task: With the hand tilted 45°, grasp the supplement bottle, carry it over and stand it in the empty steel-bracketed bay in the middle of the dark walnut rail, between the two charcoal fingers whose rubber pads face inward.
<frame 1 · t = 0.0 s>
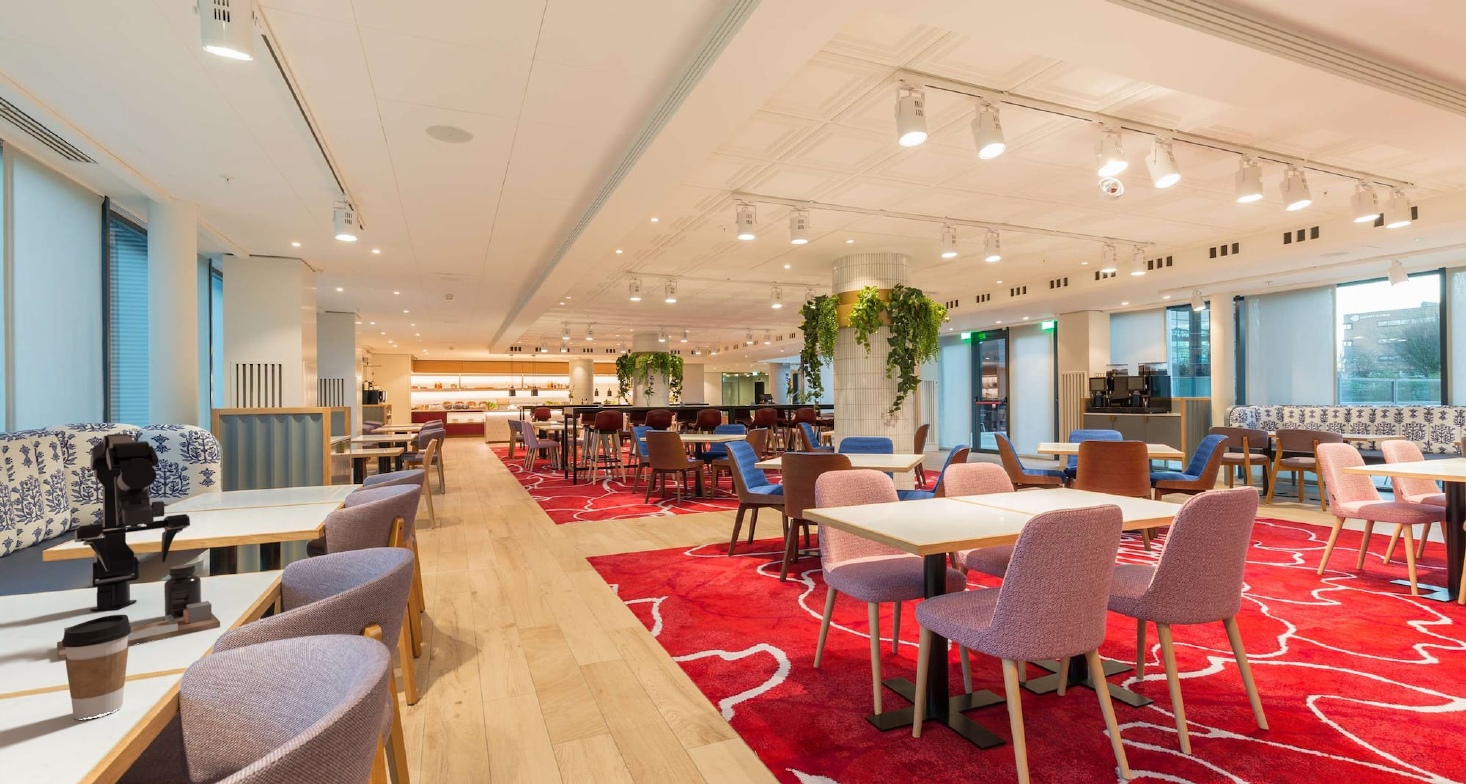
hand: (136, 566, 148), 15 cm above the table, tool pointing down, fingers open, 9 cm apart
coffee cup: (98, 713, 112), on the table
supplement bottle: (183, 617, 162), on the table
walnut rail: (141, 636, 148), on the table
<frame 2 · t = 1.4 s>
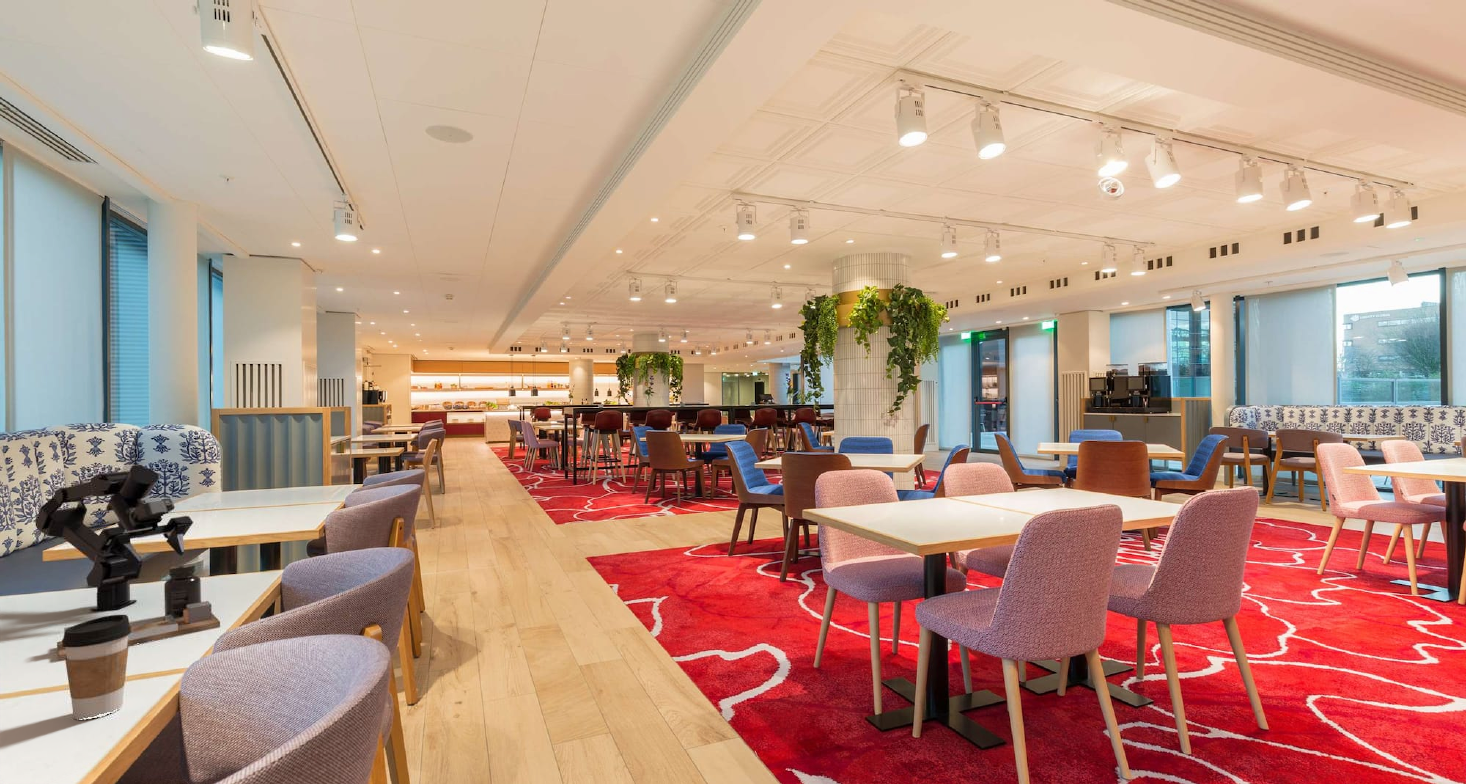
hand: (161, 558, 164), 13 cm above the table, tool tilted 45°, fingers open, 9 cm apart
nothing on the table moved.
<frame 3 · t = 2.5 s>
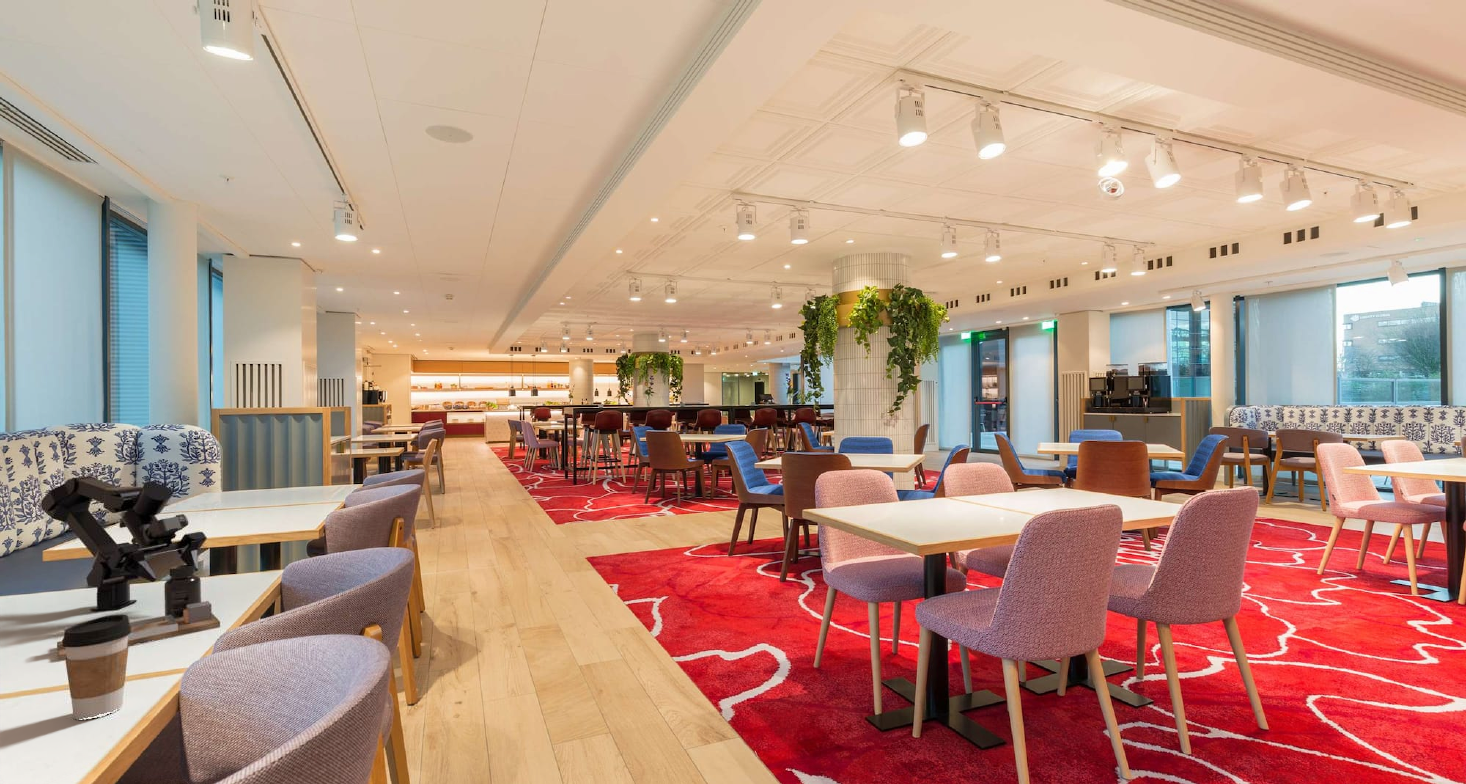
hand: (176, 575, 163), 10 cm above the table, tool tilted 45°, fingers open, 9 cm apart
nothing on the table moved.
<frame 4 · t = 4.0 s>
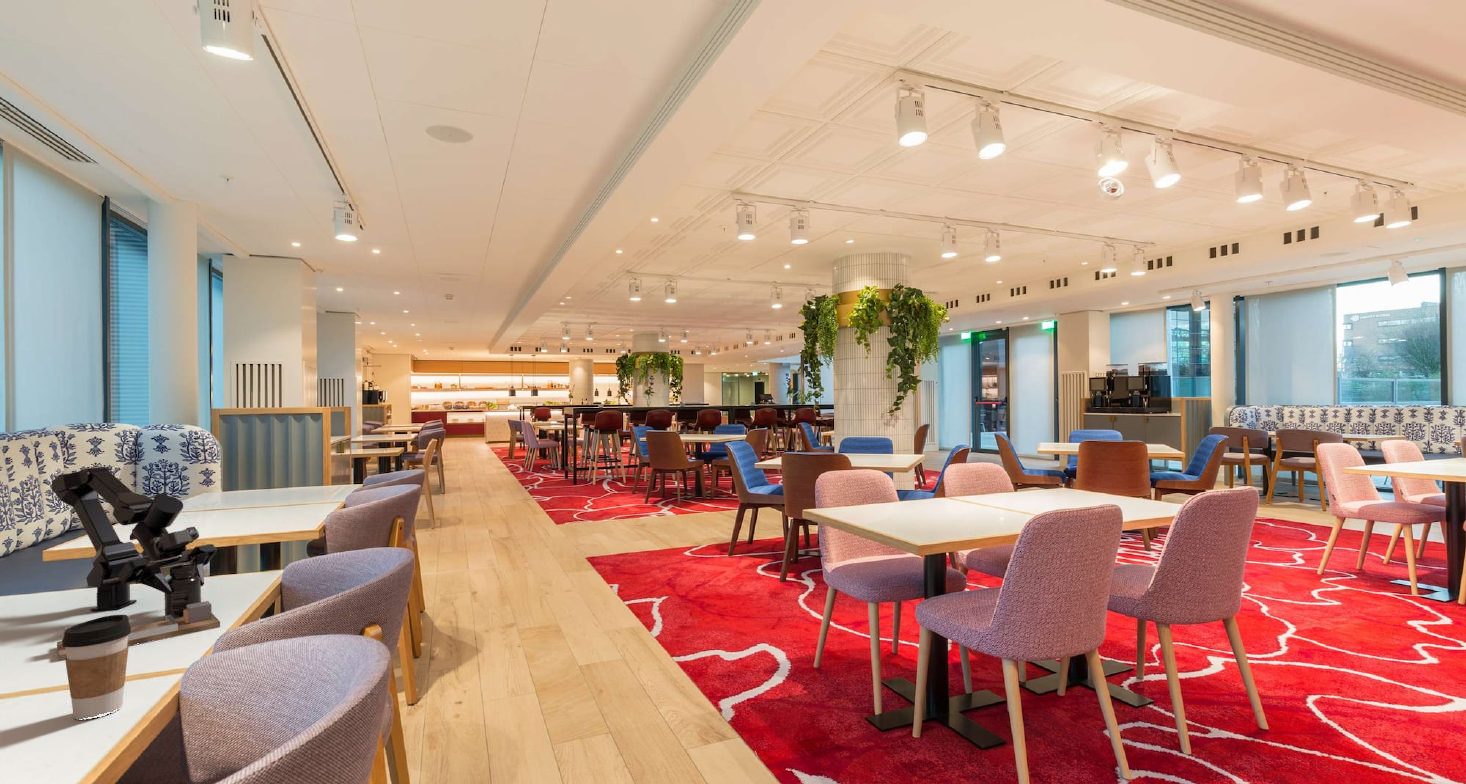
hand: (186, 589, 162), 7 cm above the table, tool tilted 45°, fingers closed on supplement bottle, 7 cm apart
supplement bottle: (183, 616, 162), on the table, touching gripper
everything else where it was.
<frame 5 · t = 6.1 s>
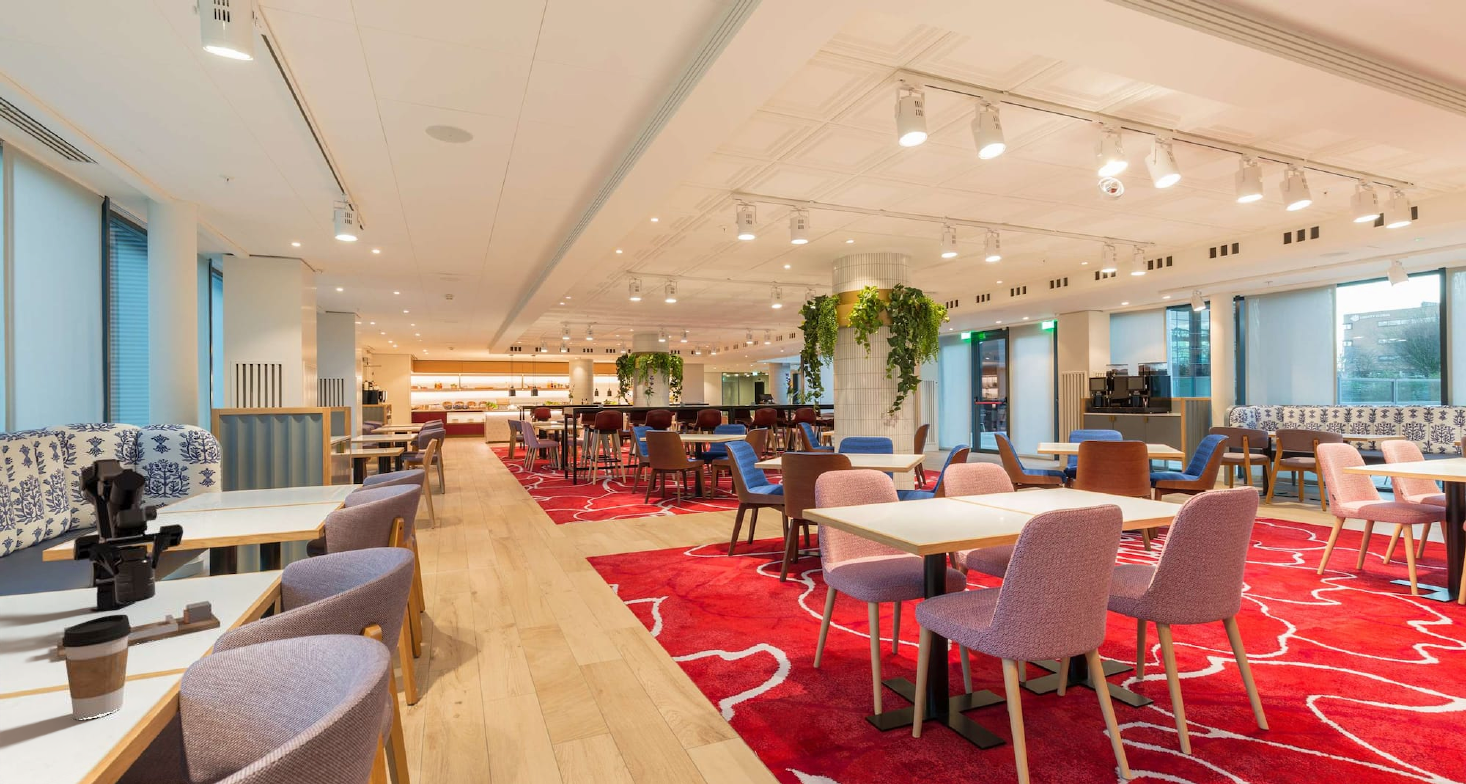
hand: (135, 571, 153), 13 cm above the table, tool tilted 45°, fingers closed on supplement bottle, 7 cm apart
supplement bottle: (136, 600, 154), point 6 cm above the table, touching gripper
everything else where it was.
when the fingers open (9 cm above the table, at t = 8.4 s): supplement bottle stays where it is, resting on walnut rail.
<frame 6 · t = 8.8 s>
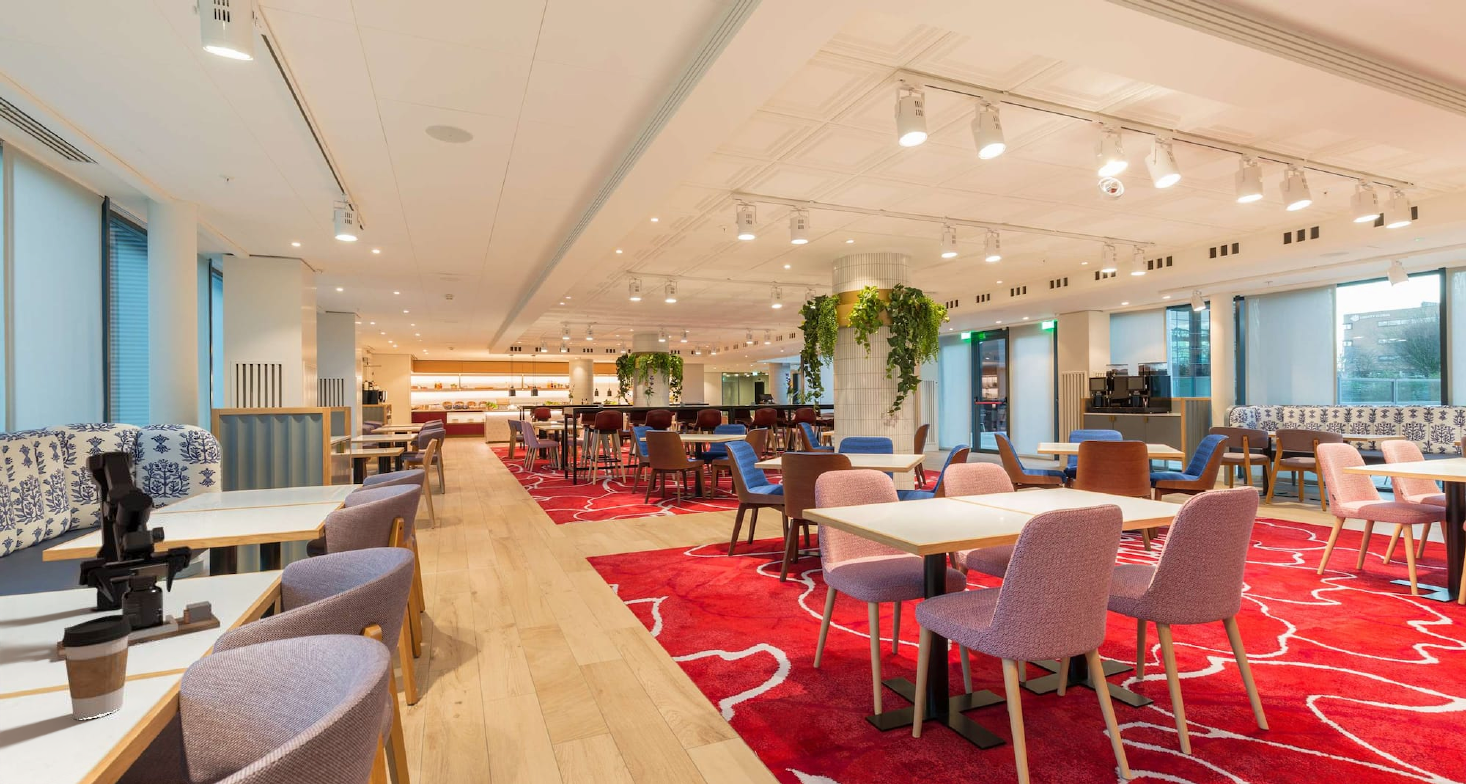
hand: (142, 596, 147), 9 cm above the table, tool tilted 45°, fingers open, 9 cm apart
supplement bottle: (143, 631, 148), point 1 cm above the table, touching walnut rail
everything else where it was.
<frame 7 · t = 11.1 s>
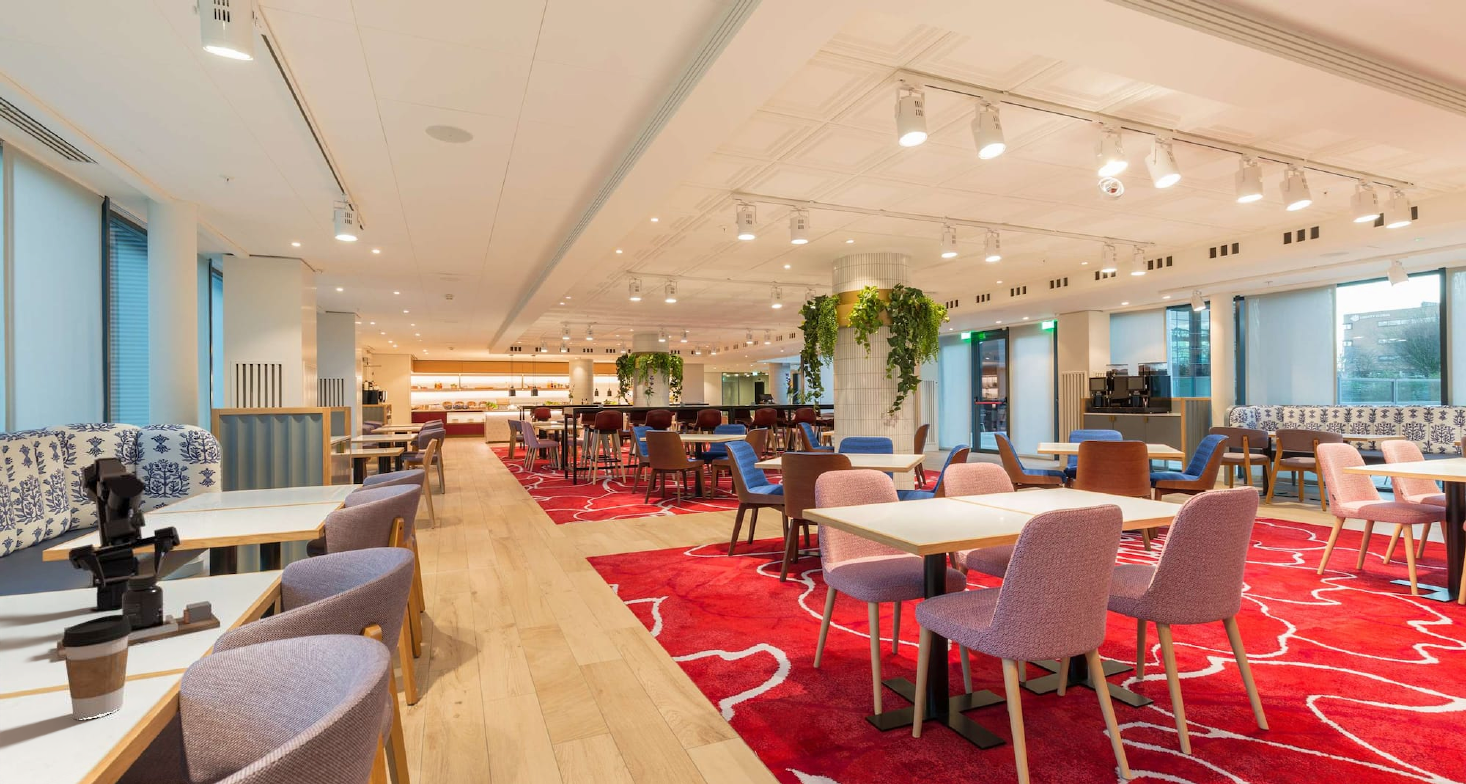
hand: (130, 579, 153), 11 cm above the table, tool tilted 40°, fingers open, 9 cm apart
nothing on the table moved.
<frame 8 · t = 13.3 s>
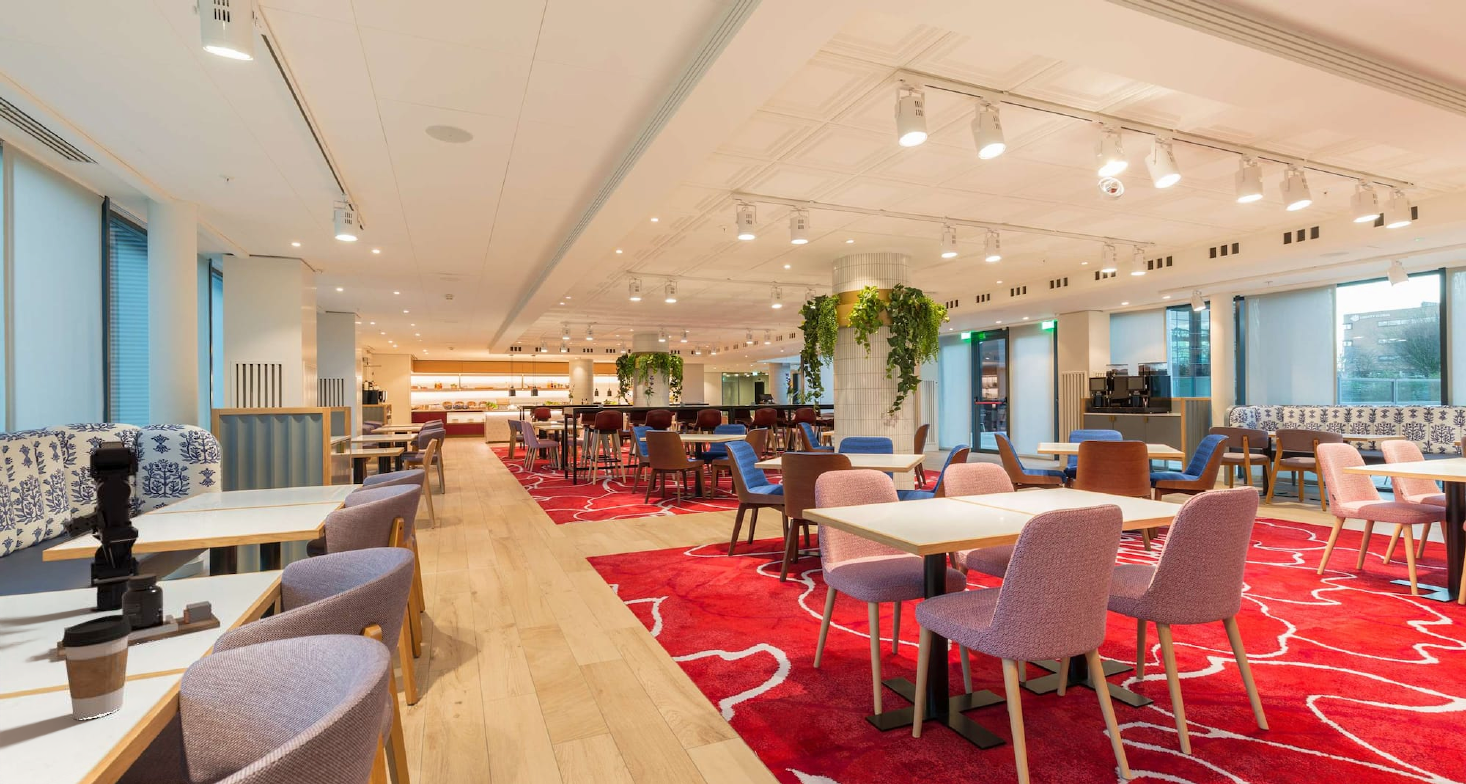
hand: (114, 566, 159), 13 cm above the table, tool pointing down, fingers open, 9 cm apart
nothing on the table moved.
at the end: supplement bottle 0.3 cm off-centre on the walnut rail, point 1.0 cm above the walnut rail's base; supplement bottle tilted 0°; the gripper is holding nothing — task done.
